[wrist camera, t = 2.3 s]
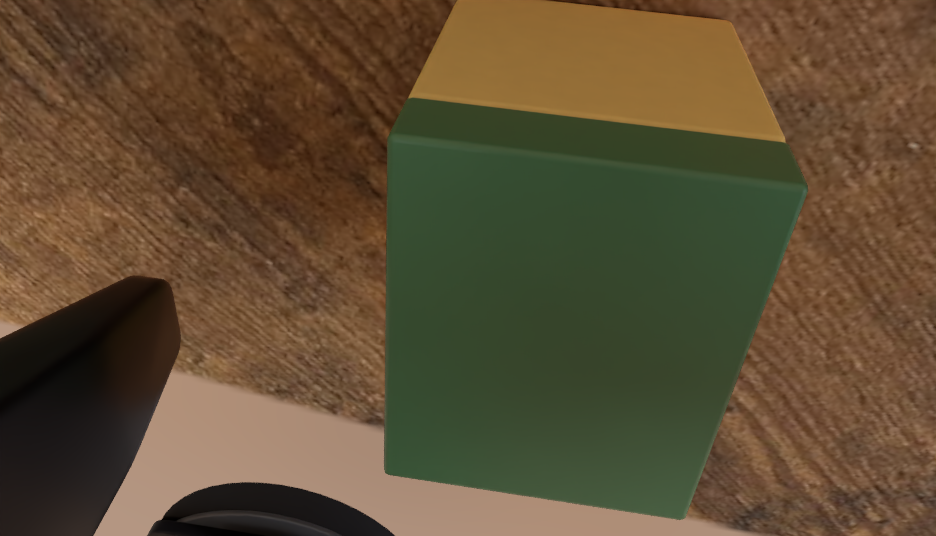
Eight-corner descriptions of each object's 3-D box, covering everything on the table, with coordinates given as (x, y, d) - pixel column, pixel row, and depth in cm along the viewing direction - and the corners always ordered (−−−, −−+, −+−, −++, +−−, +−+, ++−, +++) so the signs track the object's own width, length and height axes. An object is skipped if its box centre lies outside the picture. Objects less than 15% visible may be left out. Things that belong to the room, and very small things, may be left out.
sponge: (659, 293, 14) (685, 523, 10) (442, 264, 14) (382, 476, 10) (733, 19, 11) (811, 187, 7) (459, -12, 11) (386, 133, 7)
